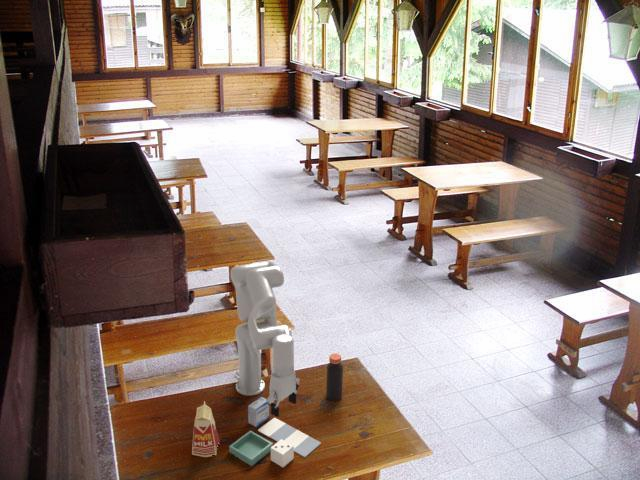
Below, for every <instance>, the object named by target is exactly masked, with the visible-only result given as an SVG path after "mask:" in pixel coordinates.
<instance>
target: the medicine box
mask: <svg viewBox="0 0 640 480" xmlns="http://www.w3.org/2000/svg"><path fill="white" fill-rule="evenodd" d="M266 400H267V398H265V397H263V396H260V397H259V398H257V399H256V400H254V401H253V402H251V403H250V404H249V405H247V414H248V415H247V417H248V424H249V425H251V426H253V427H256V428H258V427H259V426H260V425H262V424H263V423H264V422H265V421H267V420H268V419H269V418H270V405H268V403H267V401H266Z"/></svg>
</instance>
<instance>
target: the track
mask: <svg viewBox="0 0 640 480" xmlns="http://www.w3.org/2000/svg"><path fill="white" fill-rule="evenodd" d="M257 431H258V432H259V433H261V434H263V435H264V436H266V437H268V438H269V439H271V440H273V441H274V442H275V443H277V442H278V441H280V440H281V439H282V440H284V441H286V442H288V443H289V444H291V445H293V446H294V453H295V454H297V455H299V456H301V457H302V458H306V457H308V456H309V455H310V454H311V453H312V452H313V451H315V450H316V449H318V447H319V446H320V445H322V442H321V441H319V440H317V439H315V438H313V437H311V436H310V435H308V434H306V433H304V432H302V431H300V430H299V429H296V428H295V427H293V426H291V425H289V424H288V423H286V422H284V421H282V420H280V419H278V417H273V418H272V419H270V420H269V421H268V422H267V423H265V424H263V425H262V426H261V427H260V428H258V430H257Z"/></svg>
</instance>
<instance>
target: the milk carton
mask: <svg viewBox="0 0 640 480" xmlns="http://www.w3.org/2000/svg"><path fill="white" fill-rule="evenodd" d="M192 434H193V435H192V445H191V446H192V447H191V455H193V456H197V457H202V458H208V457H213V456H212V455H215V456H217V455H218V453H217V452H218V448H217V447H219V446H218V444H219V445H220V443H221V442H220V437H219V434H218V431H217V428H216V421H215V419H214V415H213V412H212V408H211V407H210V406H208V405H207V404H206V401H205V400H204V401H203V404H202V405H200V406H198V407H196V415H195V418H194V423H193V433H192ZM219 442H220V443H219Z"/></svg>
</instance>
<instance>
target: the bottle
mask: <svg viewBox="0 0 640 480" xmlns="http://www.w3.org/2000/svg"><path fill="white" fill-rule="evenodd" d="M328 361H329V363H328V364H327V365H326V384H325V385H326V389H325V391H326V394H325V396H326V398H327V399H328V400H329V401H333V402H335V401H336V402H337V401H340V400H341V399H342V397H343V379H344V366H343V364H342V355H341V354H339V353H331V354H330V355H329V359H328Z"/></svg>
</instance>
